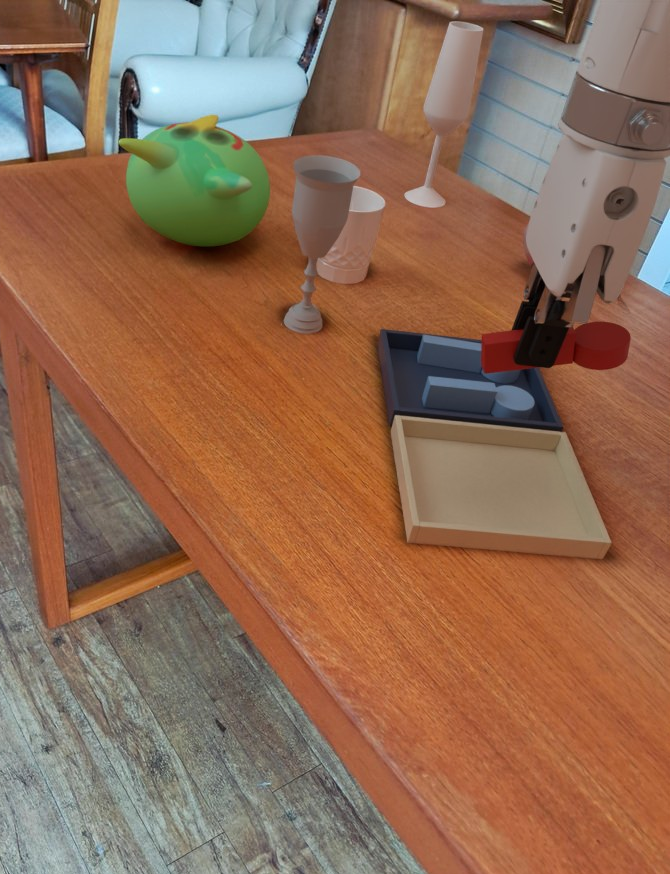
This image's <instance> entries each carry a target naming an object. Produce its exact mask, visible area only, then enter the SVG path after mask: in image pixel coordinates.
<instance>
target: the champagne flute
mask: <svg viewBox="0 0 670 874" xmlns="http://www.w3.org/2000/svg"><path fill="white" fill-rule="evenodd" d="M483 34H484V28H483V27H482V26H480V25H478V24H475V23H471V22H466V21H455V20H454V21H449V23H448V26H447V29H446V33H445V35H444V39H443V41H442V45H441V49H440V52H439V55H438V57H437V58H438V59H437V61H436V64H435V68H434V71H433V74H432V77H431V81H430V83H429V88H428V91H427V94H426V97H425V101H424V103H423V109H422V111H423V115H424V118H425V120H426V122H427V124H428V125H429V127H430V128H431V130H432V131H433V132H434V133H435V139H434V143H433V147H432V150H431V156H430V160H429V163H428V168H427V171H426V176H425V180H424V184H423V185H422V186H419V187H416V188H413V189H410V190H408V191H405V192H404V194H403V196H404V198H405V199H406V200H407V202H409V203H412V204H413V205H416V206H420V207H423V208H430V209H432V208H433V209H435V208H436V209H437V208H441V207H444V206H445V205H446V204H447V202H446V200H445V198H444V197H443V196H442V195H441V194H439V192H437V191H436V190H435V189H434V188H433V183H434V178H435V175H436V171H437V166H438V162H439V158H440V154H441V151H442V146H443V142H444V138H445V136H448V135H450V134H451V133H453V132H454V131H456V130H457V129H459V128H460V127H461V126H463V125H464V123H465V122H466V121H467V119H469V115H470V111H471V105H472V100H473V99H472V98H473V93H474V88H475V87H474V86H475V82H476V76H477V75H476V74H477V69H478V65H479V64H478V62H479V58H480V52H481V45H482V39H483Z"/></svg>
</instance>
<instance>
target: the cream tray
mask: <svg viewBox="0 0 670 874" xmlns="http://www.w3.org/2000/svg"><path fill="white" fill-rule="evenodd" d="M390 428H391V429H390V439H391V443H392V450H393V456H394V457H393V458H394V463H395V471H396V476H397V483H398V489H399V495H400V502H401V511H402V515H403V522H404V529H405V534H406V535H405V537H406V541H407V543H409V544H418V545H419V544H420V545H421V544H422V545H430V546H431V545H432V546H444V547H455V548H466V549H476V550H477V549H478V550H488V551H489V550H490V551H500V552H511V553H512V552H513V553H522V554H523V553H525V554H535V555H547V556H559V557H572V558H583V559H594V560H603V559H604V558H605V556H606V554H607V553H608V550H609V549H610V547H611V545H612V543H613V542H612V539H611V537H610V534H609V533H608V530H607V528H606V525H605V523H604V520H603V518H602V516H601V514H600V511H599V508H598V507H597V504H596V502H595V499H594V496H593V493H592V492H591V489H590V487H589V484H588V482H587V480H586V478H585V475H584V472H583V470H582V468H581V465H580V463H579V461H578V458H577V456H576V453H575V451H574V448H573V446H572V444H571V442H570V439H569V436H568V434H567V432H566V431H562V432H558V431H548V430H538V429H528V428H518V427H508V426H499V425H489V424H479V423H469V422H459V421H449V420H439V419H429V418H419V417H409V416H399V415H395V417H394V421H393V424H392V427H390Z"/></svg>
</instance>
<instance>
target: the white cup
mask: <svg viewBox="0 0 670 874" xmlns="http://www.w3.org/2000/svg"><path fill="white" fill-rule="evenodd" d="M386 204H387V203H386V200H385V199H384V197H383V196H381V194H379V193H377V192H376V191H373V190H372V189H369V188H365V187H363V186H358V185H353V191H352V197H351V202H350V208H349V213H348V219H347V222H346V224H345V226H344V228H343V230H342V232H341V233H340V235H339V237H338V239H337V240H336V242H335V243H334V245H333V246H332V247H331V249H330V250H329V252H328V253H327V255H326V256H324V257H322V258H318V260H317V262H316V269H317V272H318V275H317V276H320V277H321V278H322V279H324V280H326V281H329V282H331V283H334V284H335V283H336V284H341V285H349V284H350V285H355V284H358V283H360V282H364V280H365V279H366V277H367V275H368V271H369V267H370V262H371V261H372V258H373V253H374V251H375V247H376V243H377V240H378V236H379V232H380V228H381V223H382V219H383V215H384V212H385V209H386Z"/></svg>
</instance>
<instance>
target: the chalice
mask: <svg viewBox="0 0 670 874" xmlns="http://www.w3.org/2000/svg"><path fill="white" fill-rule="evenodd" d="M292 167H293V171H294V173H295V183H294V191H293V200H292V207H291V215H292V222H293V225H294V232H295V236H296V239H297V241H298V242H297V243H298V245H299V247H300V251H301V253H302V254H303V255H304V256H306V257H308V258H307V259H308V263H307V266H306V268H305V269H304V270H303V274H304V275H305V281H304V283H303V284H301V286H300V290H302V293H303V295H302V296H303V297H302V299H301V301H299V302H296V303H294V304H293V305H291V306H290V307H289V309H288V311H287V312H286V314H285V315H284V318H283V322H281V323H280V326H281V327H282V325H283V324H284V325H285V326H286V328H288V329H289V330H291V331H293V332H296V333H300V334H315V333H317V332H319V331H321V330H322V328H323V326H324V325H323V317H322V316H321V315H322V314H321V311H320V310H319V308H318V307H317V306H316V305H314V304H313V303H312V296H313V293H315V292H316V291H317V287H316V286H315V283H314V281H315V279H316V277H317V276H319V275H318V272H317V269H316V262H317V260H318V258H322V257H324V256H326V255H327V253H328V252H329V250H330V249H331V247H332V246H333V245H334V243H335V242H336V240H337V239H338V237H339V235H340V233H341V232H342V230H343V228H344V226H345V224H346V222H347V219H348V213H349V208H350V202H351V197H352V191H353V186H355V184H356V182H357V181H358V180H359V178H360V177H361V170H360V169H359V167H358V166H356V165H355V163H352V162H350V161H348V160H345V159H343V158H339V157H335V156H331V155H323V154H322V155H321V154H313V155H312V154H311V155H305V156H304V155H303V156H300V157H299V158H296V159H295V160H294V161H293V163H292ZM282 323H283V324H282Z"/></svg>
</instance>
